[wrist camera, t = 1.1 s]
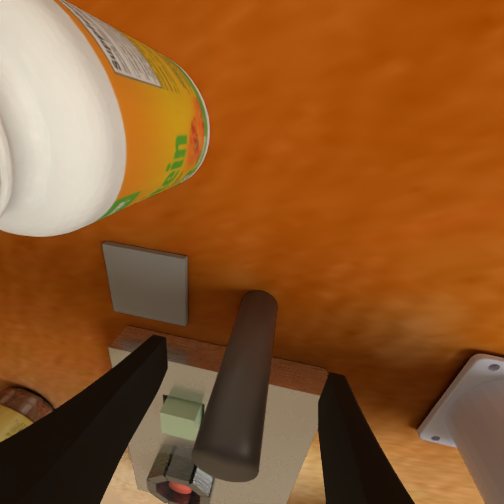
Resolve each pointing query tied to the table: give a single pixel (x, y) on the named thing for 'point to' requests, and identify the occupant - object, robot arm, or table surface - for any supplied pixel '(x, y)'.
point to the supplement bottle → (87, 119)
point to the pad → (181, 417)
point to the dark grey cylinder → (239, 395)
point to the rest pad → (147, 282)
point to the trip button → (179, 488)
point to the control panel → (199, 390)
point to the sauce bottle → (20, 410)
